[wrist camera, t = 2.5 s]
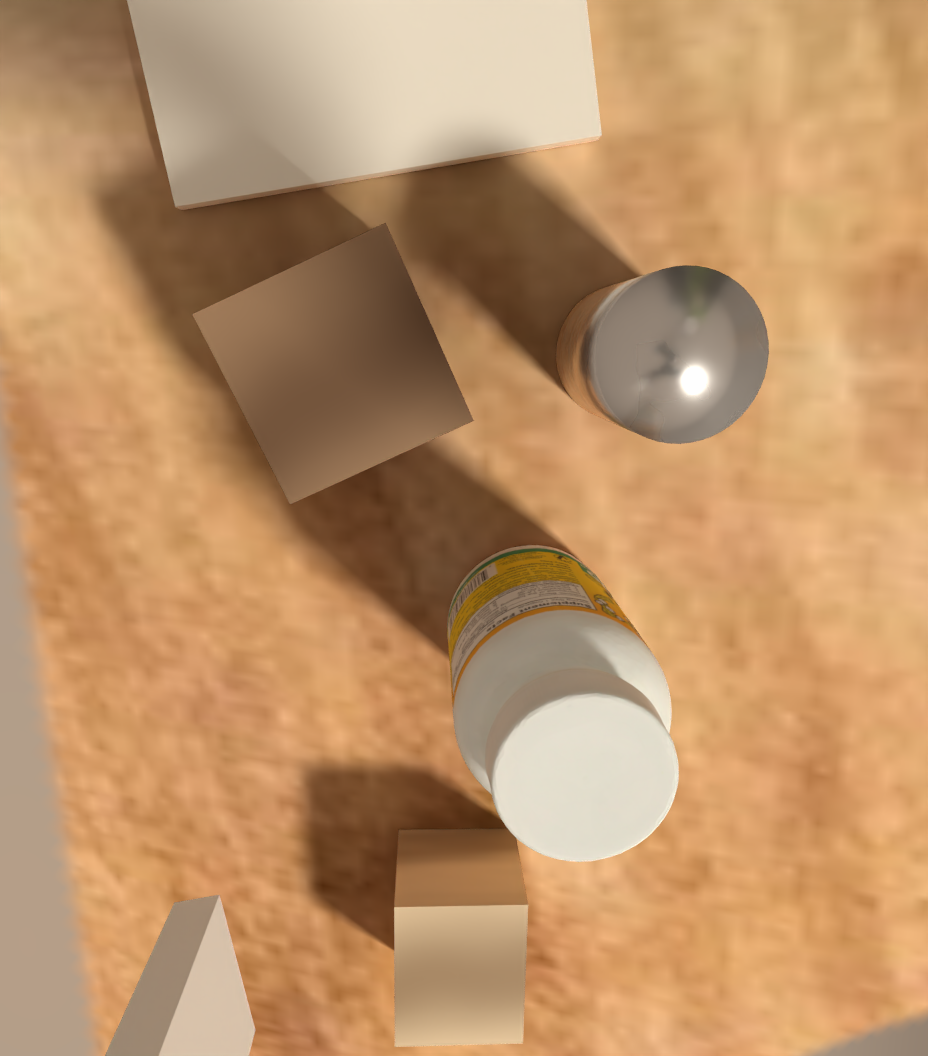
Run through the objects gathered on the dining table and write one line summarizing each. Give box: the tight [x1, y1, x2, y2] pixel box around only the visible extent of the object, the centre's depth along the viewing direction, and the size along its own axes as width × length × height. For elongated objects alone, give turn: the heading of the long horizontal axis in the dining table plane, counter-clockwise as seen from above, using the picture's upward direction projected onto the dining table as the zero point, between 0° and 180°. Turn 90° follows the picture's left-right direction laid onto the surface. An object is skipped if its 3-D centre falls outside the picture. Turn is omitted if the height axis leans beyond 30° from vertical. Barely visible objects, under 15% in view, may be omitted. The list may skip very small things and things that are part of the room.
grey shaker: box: [556, 266, 769, 444], centre depth 21 cm, size 4×4×6 cm
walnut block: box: [192, 223, 474, 504], centre depth 22 cm, size 5×5×5 cm
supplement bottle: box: [447, 545, 679, 862], centre depth 21 cm, size 5×5×10 cm
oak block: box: [394, 828, 528, 1047], centre depth 26 cm, size 5×4×4 cm
